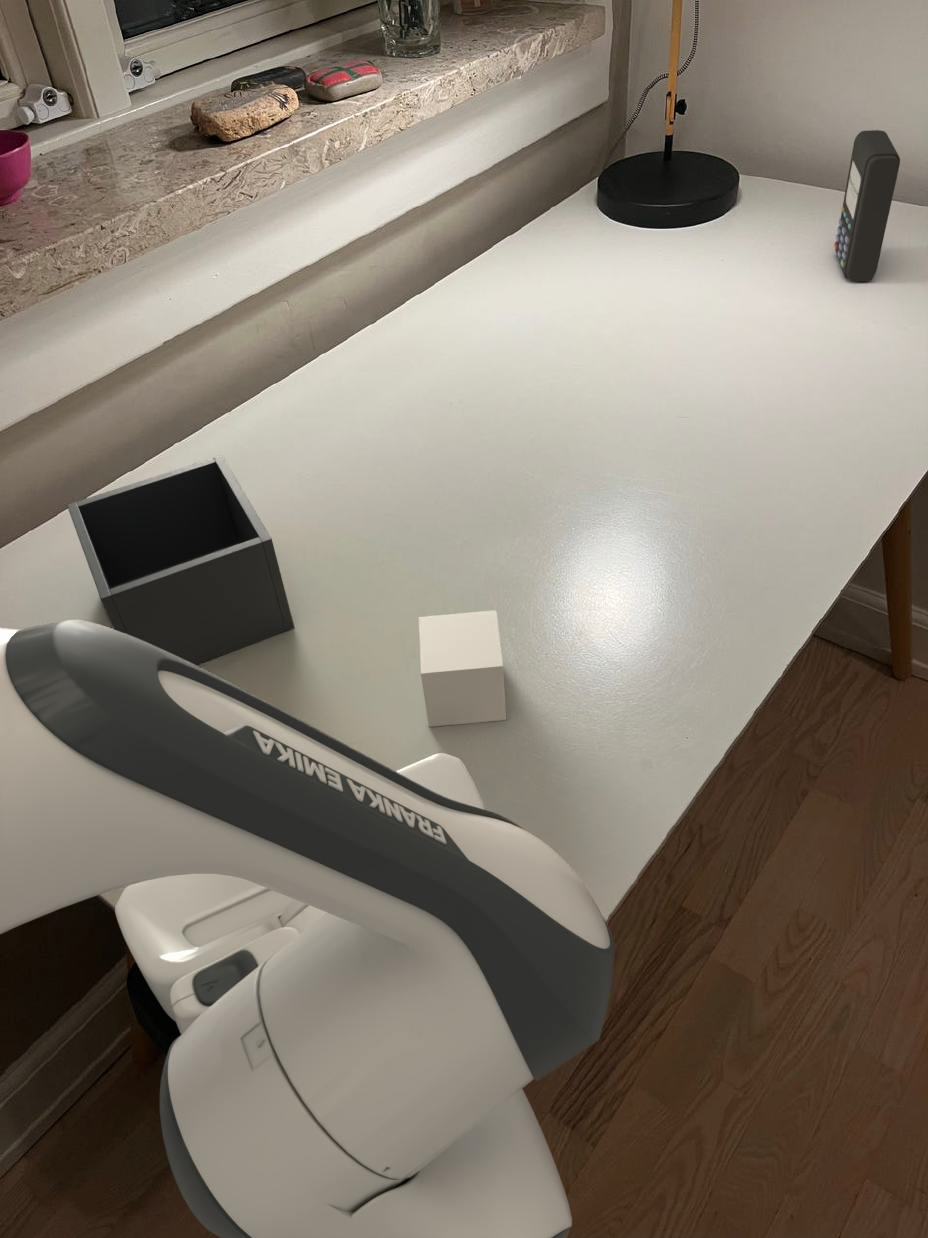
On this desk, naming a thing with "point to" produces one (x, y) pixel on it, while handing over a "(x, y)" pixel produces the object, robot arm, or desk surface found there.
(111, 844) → the robot arm
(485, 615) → the white cube
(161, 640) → the trash bin
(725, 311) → the desk surface
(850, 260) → the card reader
